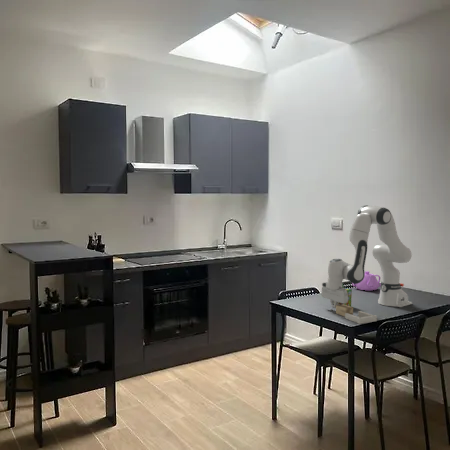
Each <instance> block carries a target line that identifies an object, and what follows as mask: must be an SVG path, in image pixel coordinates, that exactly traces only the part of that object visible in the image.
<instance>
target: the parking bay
mask: <svg viewBox="0 0 450 450" xmlns="http://www.w3.org/2000/svg"><path fill="white" fill-rule="evenodd" d="M357 315H358V316H357ZM357 315H354V314H353V315H352V314H349V313H345V316H344V319H346V320H347V321H348V320H349V321H352V322H354V323H357V324H359V325H360V324H367V323H372V322H377V321H378V315H376V314H375V315H374V314H371V313H367V312H365V311H361V310H358V314H357Z"/></svg>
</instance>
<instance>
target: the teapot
mask: <svg viewBox="0 0 450 450" xmlns="http://www.w3.org/2000/svg"><path fill="white" fill-rule="evenodd" d="M364 272H365V276H364V279H363V280H362V281H361V282H360V283H358V284H354V283H352V282H351V285H352V286H353V287H355V288H356V289H357V290H361V291H363V290H365V291H369V292H370V291H371V292H372V291H373V290H374V291H376V290H378V289H379V288H381V276H380V275H378V274H373V273H370V271H365V270H364ZM377 277H378V278H377ZM374 291H373V292H374Z"/></svg>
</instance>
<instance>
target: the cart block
mask: <svg viewBox="0 0 450 450" xmlns="http://www.w3.org/2000/svg"><path fill="white" fill-rule="evenodd" d="M345 313H349V314H352V315H354V307H353V306H351V307H350V306H347V305H336V308H335V314H337V315H340V316H343V317H345Z"/></svg>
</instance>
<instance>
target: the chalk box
mask: <svg viewBox="0 0 450 450" xmlns="http://www.w3.org/2000/svg"><path fill="white" fill-rule="evenodd" d="M342 287H343V288H346V290H347V293H348V302H347V303H345V304H343V303H340V302H338V304H337V305H347V306H350V307H352V295H353V293H352V292H353V291H352V289H351V288H347V287H344V283H343V282H342ZM334 304H335V303H334Z"/></svg>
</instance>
